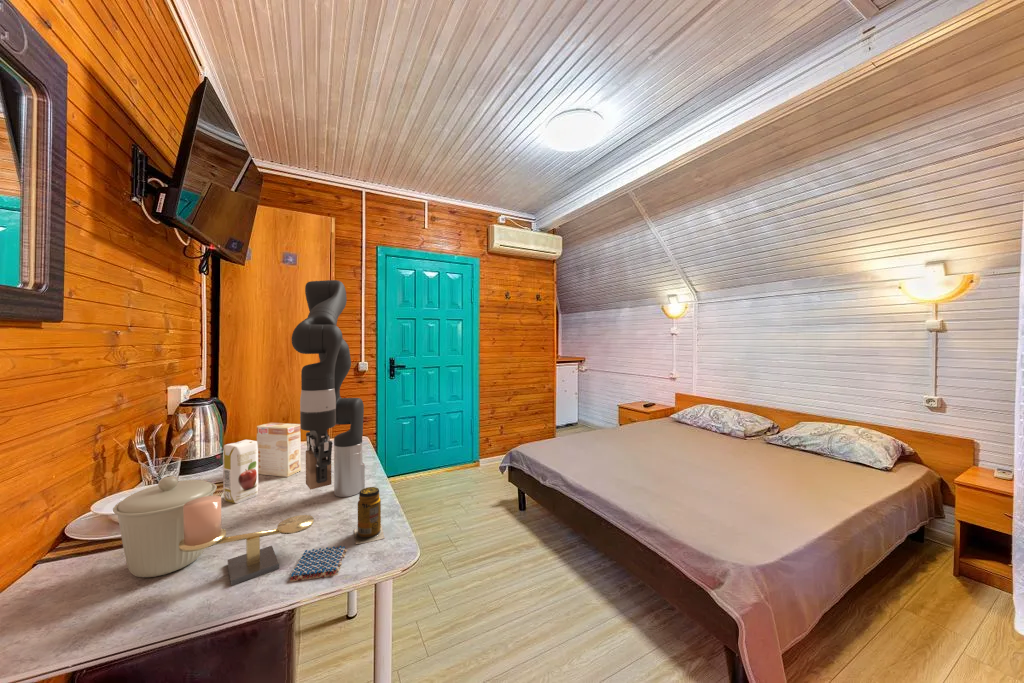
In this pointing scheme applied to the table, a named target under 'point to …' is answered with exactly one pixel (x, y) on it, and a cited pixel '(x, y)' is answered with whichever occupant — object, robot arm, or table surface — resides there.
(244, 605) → the table surface
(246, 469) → the juice carton
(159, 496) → the canister
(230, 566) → the balance
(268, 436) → the coffeecake box
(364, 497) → the condiment
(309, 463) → the block
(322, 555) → the woven mat
